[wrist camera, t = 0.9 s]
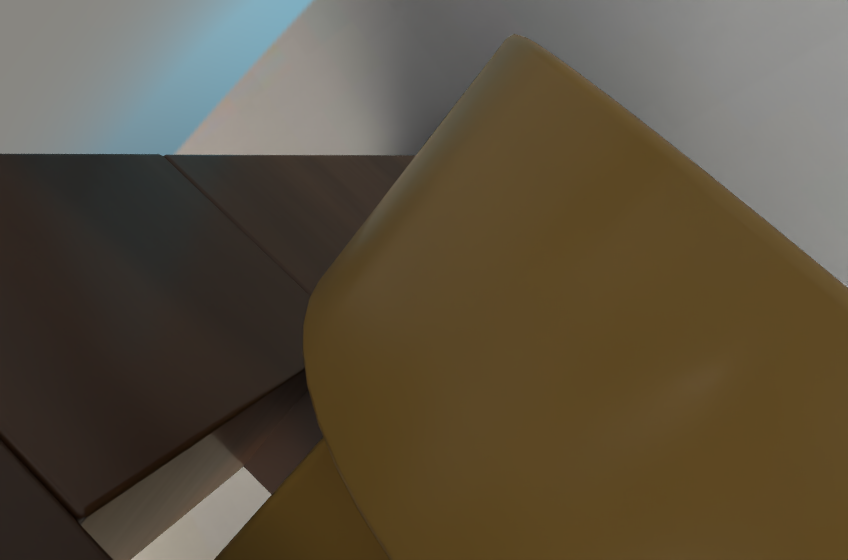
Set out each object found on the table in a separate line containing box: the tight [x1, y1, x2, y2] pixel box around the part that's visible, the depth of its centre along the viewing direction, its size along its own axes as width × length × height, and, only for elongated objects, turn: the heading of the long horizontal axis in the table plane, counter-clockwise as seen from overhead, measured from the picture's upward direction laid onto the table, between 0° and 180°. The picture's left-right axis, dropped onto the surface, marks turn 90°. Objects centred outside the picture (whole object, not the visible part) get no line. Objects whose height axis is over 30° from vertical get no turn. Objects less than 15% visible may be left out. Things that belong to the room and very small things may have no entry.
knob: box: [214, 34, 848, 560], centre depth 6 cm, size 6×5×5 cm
